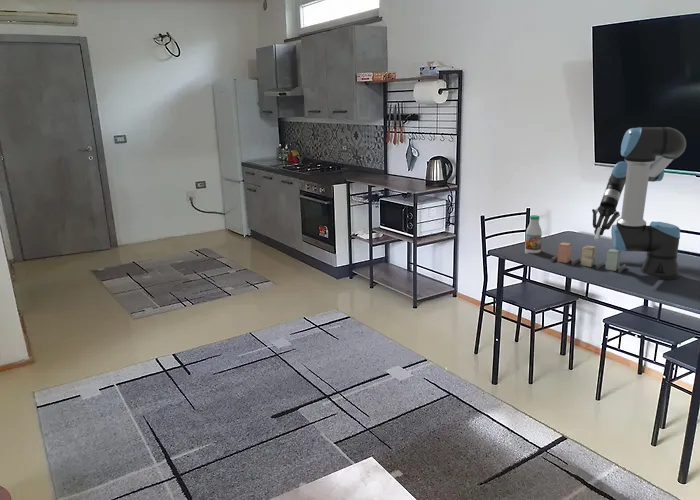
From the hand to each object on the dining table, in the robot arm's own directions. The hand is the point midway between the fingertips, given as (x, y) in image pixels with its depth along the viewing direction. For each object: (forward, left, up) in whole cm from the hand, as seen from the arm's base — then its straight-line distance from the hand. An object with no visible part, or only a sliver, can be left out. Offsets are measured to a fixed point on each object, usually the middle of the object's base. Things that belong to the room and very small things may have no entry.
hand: (596, 239), depth 261 cm
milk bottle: (+23, +19, -11) cm, 32 cm away
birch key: (-7, +9, -10) cm, 15 cm away
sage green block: (-16, +3, -10) cm, 19 cm away
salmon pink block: (+2, +16, -10) cm, 18 cm away
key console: (-7, +9, -11) cm, 16 cm away
